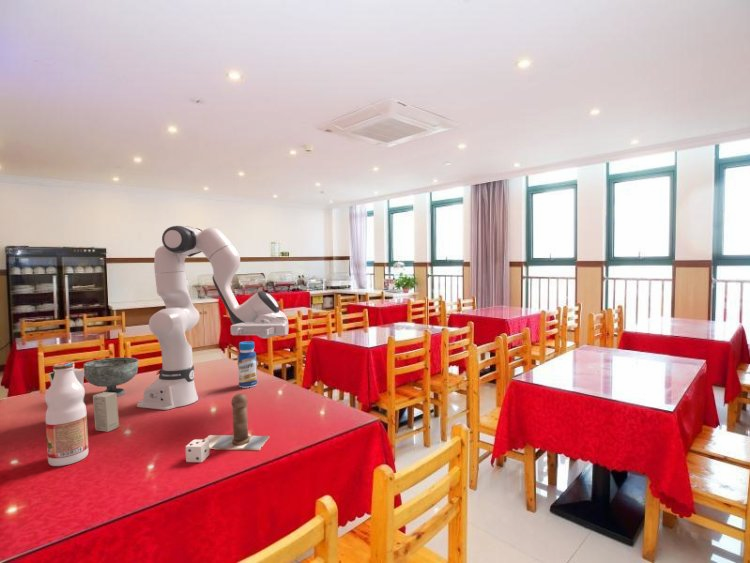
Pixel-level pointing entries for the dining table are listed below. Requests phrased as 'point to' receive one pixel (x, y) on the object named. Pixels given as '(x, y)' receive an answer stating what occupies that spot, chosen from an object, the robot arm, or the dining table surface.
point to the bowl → (111, 372)
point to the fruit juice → (66, 417)
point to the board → (226, 444)
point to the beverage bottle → (247, 365)
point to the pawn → (240, 420)
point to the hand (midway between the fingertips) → (251, 332)
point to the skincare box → (106, 411)
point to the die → (197, 450)
